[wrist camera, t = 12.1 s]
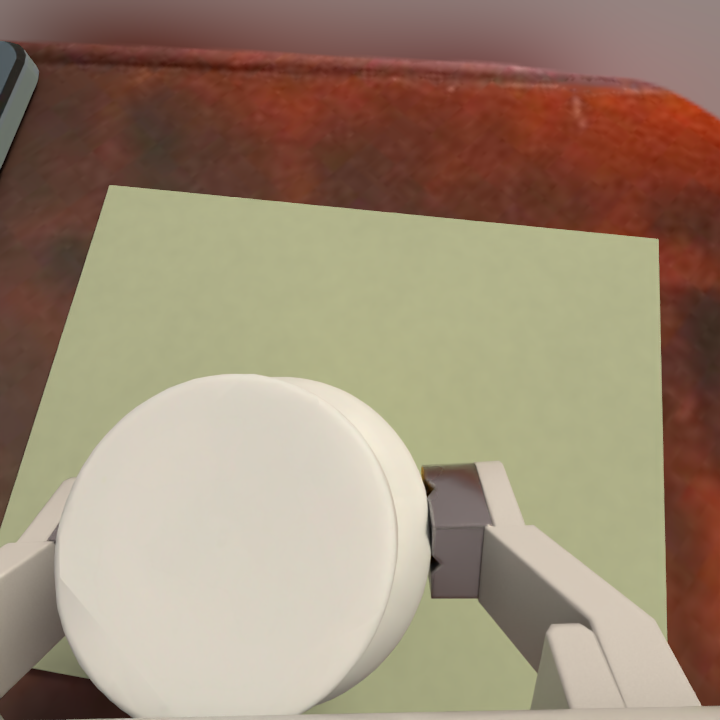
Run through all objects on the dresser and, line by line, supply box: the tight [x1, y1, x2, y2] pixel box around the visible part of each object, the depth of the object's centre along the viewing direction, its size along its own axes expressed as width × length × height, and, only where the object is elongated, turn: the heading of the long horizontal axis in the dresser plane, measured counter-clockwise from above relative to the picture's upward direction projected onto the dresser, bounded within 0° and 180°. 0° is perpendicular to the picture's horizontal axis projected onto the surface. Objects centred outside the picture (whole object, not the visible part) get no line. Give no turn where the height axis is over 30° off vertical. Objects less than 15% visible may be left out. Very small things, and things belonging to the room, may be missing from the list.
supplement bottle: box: [54, 374, 431, 718], centre depth 10 cm, size 5×5×10 cm
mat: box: [0, 185, 667, 715], centre depth 16 cm, size 20×16×1 cm
